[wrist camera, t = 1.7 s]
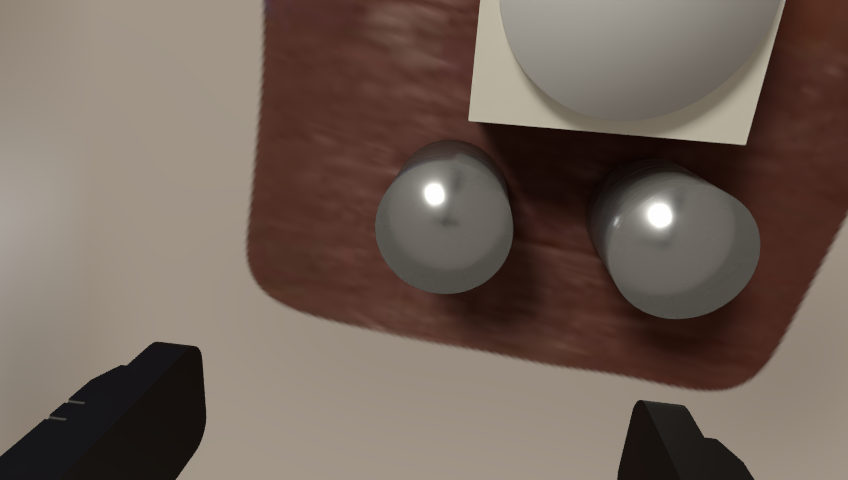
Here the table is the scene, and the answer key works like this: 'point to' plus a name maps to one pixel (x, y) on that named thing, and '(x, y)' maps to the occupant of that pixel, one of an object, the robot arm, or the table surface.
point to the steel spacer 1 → (446, 218)
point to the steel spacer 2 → (671, 238)
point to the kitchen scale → (624, 65)
